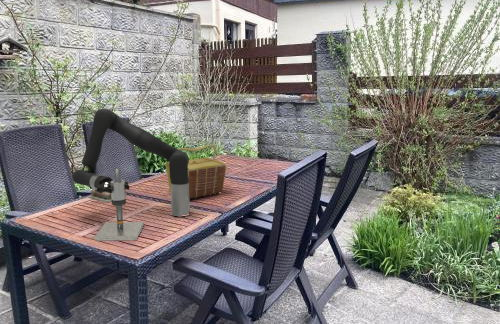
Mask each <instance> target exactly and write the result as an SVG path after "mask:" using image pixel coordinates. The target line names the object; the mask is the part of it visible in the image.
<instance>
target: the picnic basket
mask: <svg viewBox="0 0 500 324" xmlns="http://www.w3.org/2000/svg"><path fill="white" fill-rule="evenodd" d="M209 147H213V155H212V158H209V157H206V156H205V157H204V156H203V157H201V158H191V159H189V163H188V177H189V196H190V200H192V199H191V198H194V199H196V198H195V197H199V198H201V197H200V196H204V197H206V196H205V195H209V196H211V195H210V194H214V195H216V194H215V193H219V192H222V193H223V190H224V184H225V177H226V171H227V164H226V163H225V162H224V161H220V160H217V159H216V151H217V150H216V149H217V148H216V145H214V144H207V145H206V144H205V145H203V146H199V147H197V148H196V147H195V148H190V147H180V148H178V149H179V150H181V151H183V150H185V151H188V152H197V151H201V150H204V149H206V148H209ZM165 170H166V177H167V181H168V182H167V183H168V187H169V192H170V193H171V180H170V171H169V161H168V162H167V161H166V163H165Z"/></svg>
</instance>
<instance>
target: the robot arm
mask: <svg viewBox="0 0 500 324" xmlns="http://www.w3.org/2000/svg"><path fill="white" fill-rule="evenodd" d="M108 129H109V130H111V131H113V132H115V133H117V134H119V135H120V136H122V137H123V138H124V139H125V140H127V141H128V142H129V143H131V144H132V145H134V146H135V147H137V148H138V149H140V150H142V151H143V152H144V151H145V152H146V153H150V154H153V155H157V156H159V157H161V158H163V159H164V160H166V161H168V162H169V171H170V180H171V192H170V202H171V203H170V204H171V207H170V208H171V211H170V212H171V216H172V215H174V216H182V215H187V214H189V212H190V213H191V203H190V202H191V199H190V196H189V177H188V163H189V160H190V158H189V155H188V154H187V153H186V152H185V151H183V150H179V148H176V147H174V146H171V145H170V144H168V143H166V141H165V142H164V141H163V140H162V139H160V138H159V137H157V136H155V135H153V134H152V133H151V132H149V131H148V130H145V129H144V128H142V127H139V126H137V125H135V124H133V123H131V122H129V121H127V120H125V119H123V118H122V117H121V116H119V115H118V114H116V113H115V112H114V111H112V110H111V109H108V108H104V107H103V108H99V109H98V110H96V111H95V114H94V117H93V122H92V128H91V132H90V137H89V140H88V143H87V146H86V148H85V151H84V154H83V157H82V160H81V164H82V165H83V166H84V167H87V170H84V169H77V170H75V171H74V172H73V173H72V176H71V178H72V181H73V183H75V184H76V185H81V186H85V187H89V188H92V190H95V191H96V192H99V193H102V192H104V193H106V192H107V193H110V194H111V193H112V188H111V181H114V180H113V179H112V178H111V177H110V176H108V175H107V176H106V175H102V174H97V164H98V161H99V160H100V159H99V158H100V155H101V152H102V147H103V142H104V139H105V138H104V137H105V135H106V132H107V131H108ZM124 181H125V191H129V190H130V184H129V182H128V181H126V180H124ZM189 215H190V214H189Z"/></svg>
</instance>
